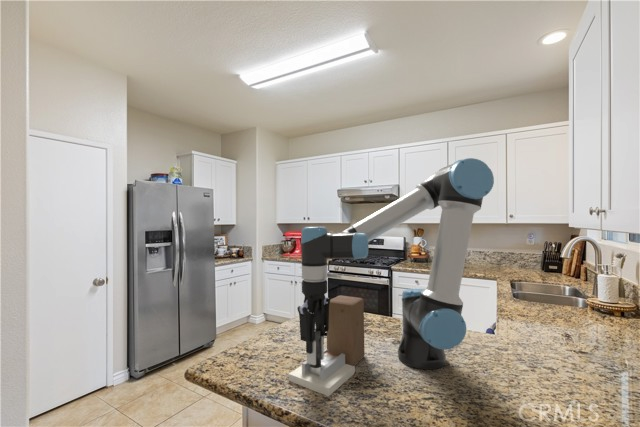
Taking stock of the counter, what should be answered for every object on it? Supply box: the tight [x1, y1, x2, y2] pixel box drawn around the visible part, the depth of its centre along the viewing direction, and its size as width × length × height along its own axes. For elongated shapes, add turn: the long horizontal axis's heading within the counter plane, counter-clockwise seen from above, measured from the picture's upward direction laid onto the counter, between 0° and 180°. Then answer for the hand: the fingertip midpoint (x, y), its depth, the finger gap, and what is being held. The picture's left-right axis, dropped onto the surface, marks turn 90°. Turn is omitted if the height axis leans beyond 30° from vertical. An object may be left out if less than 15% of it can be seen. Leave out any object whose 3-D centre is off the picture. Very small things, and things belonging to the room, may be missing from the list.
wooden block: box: [326, 295, 366, 367], centre depth 100 cm, size 10×10×20 cm
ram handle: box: [310, 328, 338, 375], centre depth 89 cm, size 4×11×12 cm, turn 145°
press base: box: [288, 348, 356, 397], centre depth 88 cm, size 14×14×5 cm
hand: (315, 360), depth 86 cm, fingers closed on ram handle, 3 cm apart
